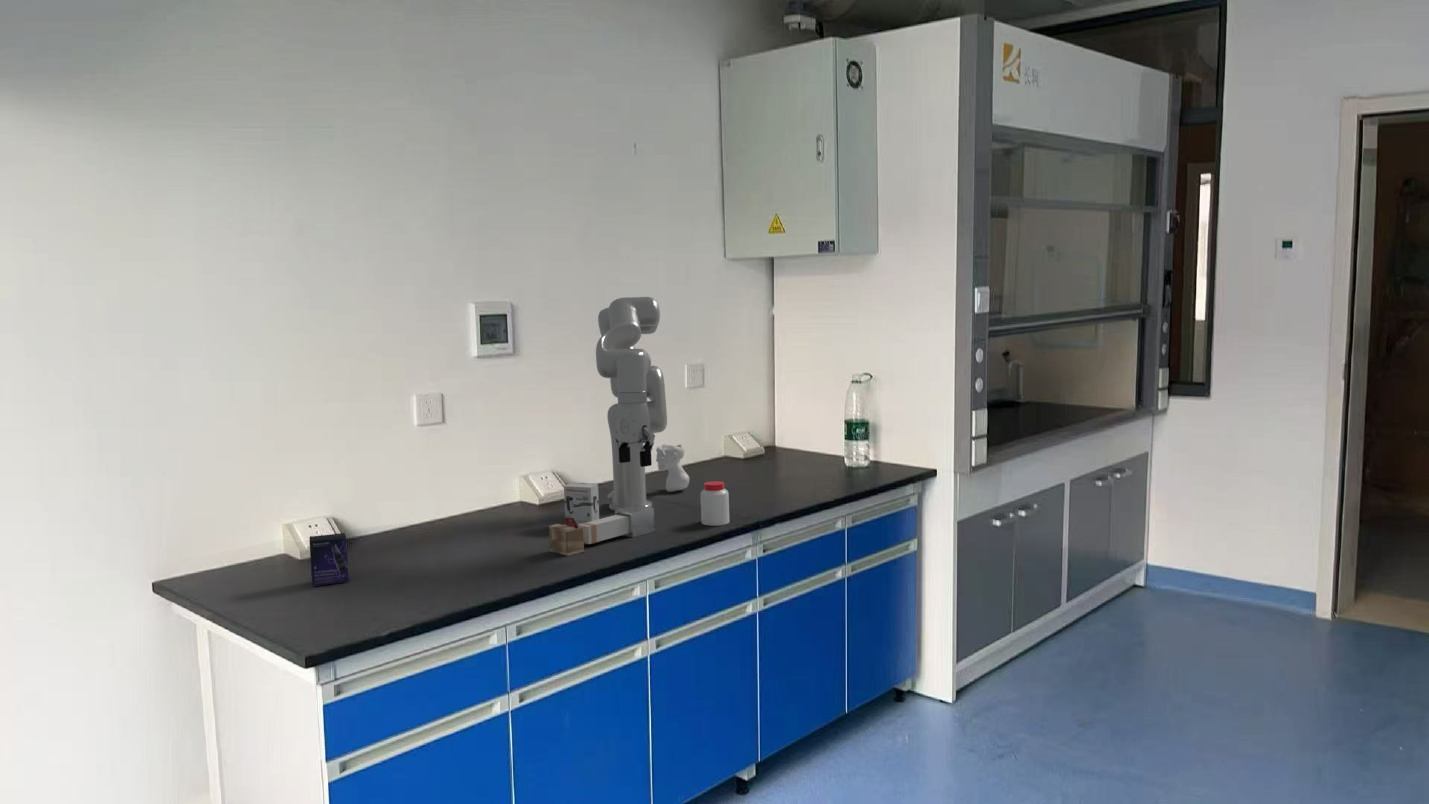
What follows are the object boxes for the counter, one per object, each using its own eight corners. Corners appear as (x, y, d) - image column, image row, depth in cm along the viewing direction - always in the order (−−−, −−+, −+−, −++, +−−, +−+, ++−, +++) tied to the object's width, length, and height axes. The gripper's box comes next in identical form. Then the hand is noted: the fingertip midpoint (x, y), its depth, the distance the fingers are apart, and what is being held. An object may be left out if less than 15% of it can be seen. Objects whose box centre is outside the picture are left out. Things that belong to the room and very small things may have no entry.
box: (312, 587, 228) (308, 541, 227) (311, 581, 233) (308, 535, 232) (349, 582, 231) (346, 536, 230) (348, 576, 236) (344, 531, 235)
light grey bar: (578, 542, 257) (577, 524, 257) (640, 525, 273) (639, 508, 273) (589, 544, 254) (588, 526, 254) (651, 527, 271) (650, 510, 270)
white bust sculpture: (695, 491, 321) (693, 445, 320) (665, 496, 315) (663, 449, 314) (679, 487, 329) (677, 441, 328) (649, 492, 323) (647, 445, 321)
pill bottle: (726, 525, 273) (725, 486, 272) (698, 525, 275) (697, 485, 274) (731, 519, 281) (730, 480, 280) (704, 519, 282) (703, 480, 281)
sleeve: (615, 534, 268) (614, 510, 268) (637, 528, 274) (636, 504, 274) (633, 537, 264) (631, 513, 263) (654, 531, 270) (653, 507, 269)
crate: (550, 551, 252) (549, 525, 252) (565, 547, 256) (564, 521, 255) (568, 555, 248) (567, 529, 247) (584, 551, 251) (582, 525, 251)
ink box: (564, 527, 278) (562, 485, 277) (572, 523, 283) (570, 482, 281) (592, 529, 275) (590, 486, 274) (600, 524, 280) (598, 483, 278)
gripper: (602, 398, 264) (605, 462, 266) (639, 401, 251) (642, 469, 252) (626, 395, 269) (628, 459, 270) (663, 399, 255) (666, 465, 257)
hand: (635, 464), depth 261 cm, fingers open, 9 cm apart
